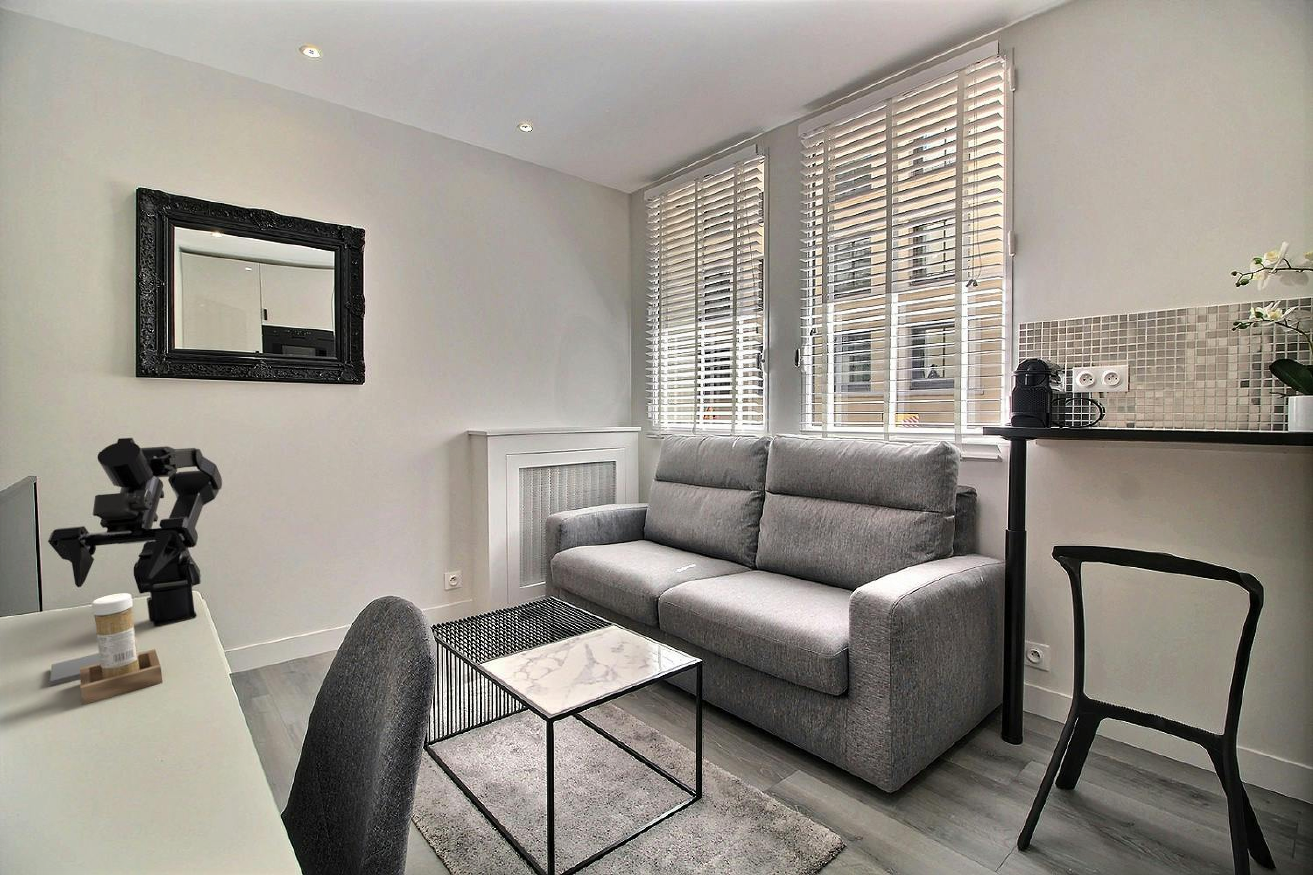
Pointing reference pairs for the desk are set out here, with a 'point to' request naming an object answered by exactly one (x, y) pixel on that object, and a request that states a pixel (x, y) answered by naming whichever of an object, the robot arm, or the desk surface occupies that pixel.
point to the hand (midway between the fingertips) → (113, 581)
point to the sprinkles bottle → (116, 634)
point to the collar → (119, 679)
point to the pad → (71, 669)
